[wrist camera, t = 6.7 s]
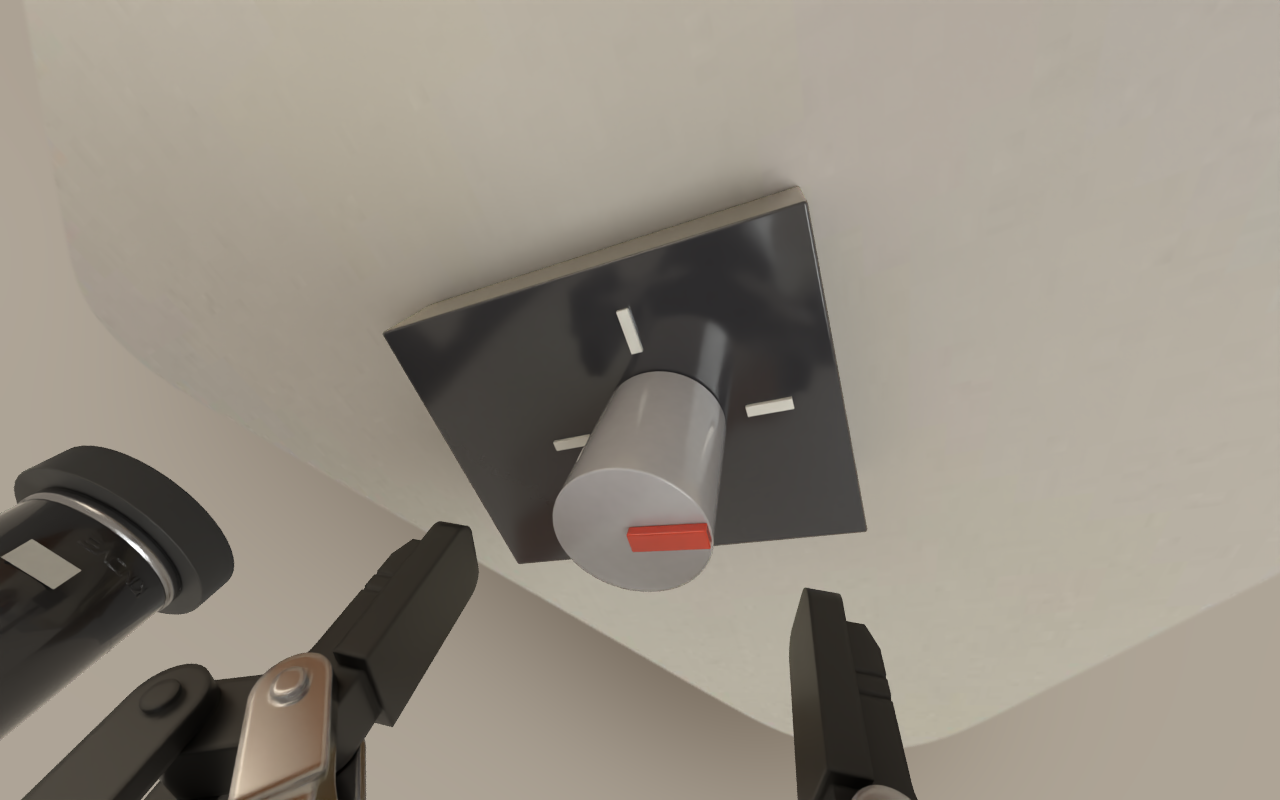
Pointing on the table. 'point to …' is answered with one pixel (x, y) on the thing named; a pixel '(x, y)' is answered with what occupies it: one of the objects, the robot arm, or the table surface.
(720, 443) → the stove knob
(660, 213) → the table surface
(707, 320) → the stove panel
